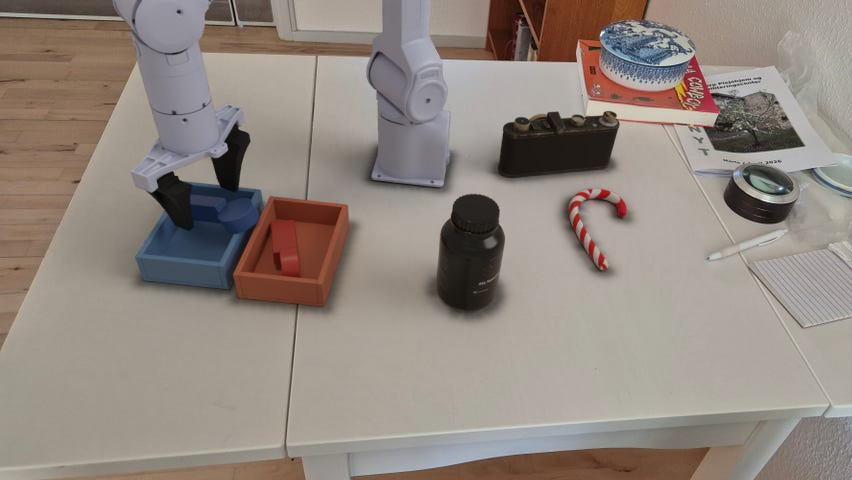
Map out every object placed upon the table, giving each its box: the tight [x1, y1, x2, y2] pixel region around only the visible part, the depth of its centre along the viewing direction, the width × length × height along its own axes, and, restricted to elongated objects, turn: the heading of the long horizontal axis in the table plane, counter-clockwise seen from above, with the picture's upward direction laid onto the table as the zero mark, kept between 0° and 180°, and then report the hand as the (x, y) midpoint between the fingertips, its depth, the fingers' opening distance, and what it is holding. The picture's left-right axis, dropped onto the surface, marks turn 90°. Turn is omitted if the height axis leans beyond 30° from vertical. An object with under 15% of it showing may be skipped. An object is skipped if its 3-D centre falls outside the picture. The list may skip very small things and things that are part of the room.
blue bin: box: [134, 180, 265, 290], centre depth 75 cm, size 9×13×4 cm
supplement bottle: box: [435, 193, 506, 312], centre depth 71 cm, size 7×7×12 cm
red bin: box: [233, 195, 350, 308], centre depth 75 cm, size 9×13×4 cm
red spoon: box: [271, 220, 301, 278], centre depth 74 cm, size 10×4×3 cm
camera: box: [497, 110, 621, 179], centre depth 92 cm, size 16×7×8 cm, turn 106°
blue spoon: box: [190, 195, 259, 233], centre depth 75 cm, size 10×4×3 cm, turn 66°
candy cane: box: [568, 188, 628, 271], centre depth 84 cm, size 8×1×15 cm
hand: (207, 206), depth 75 cm, fingers open, 7 cm apart
